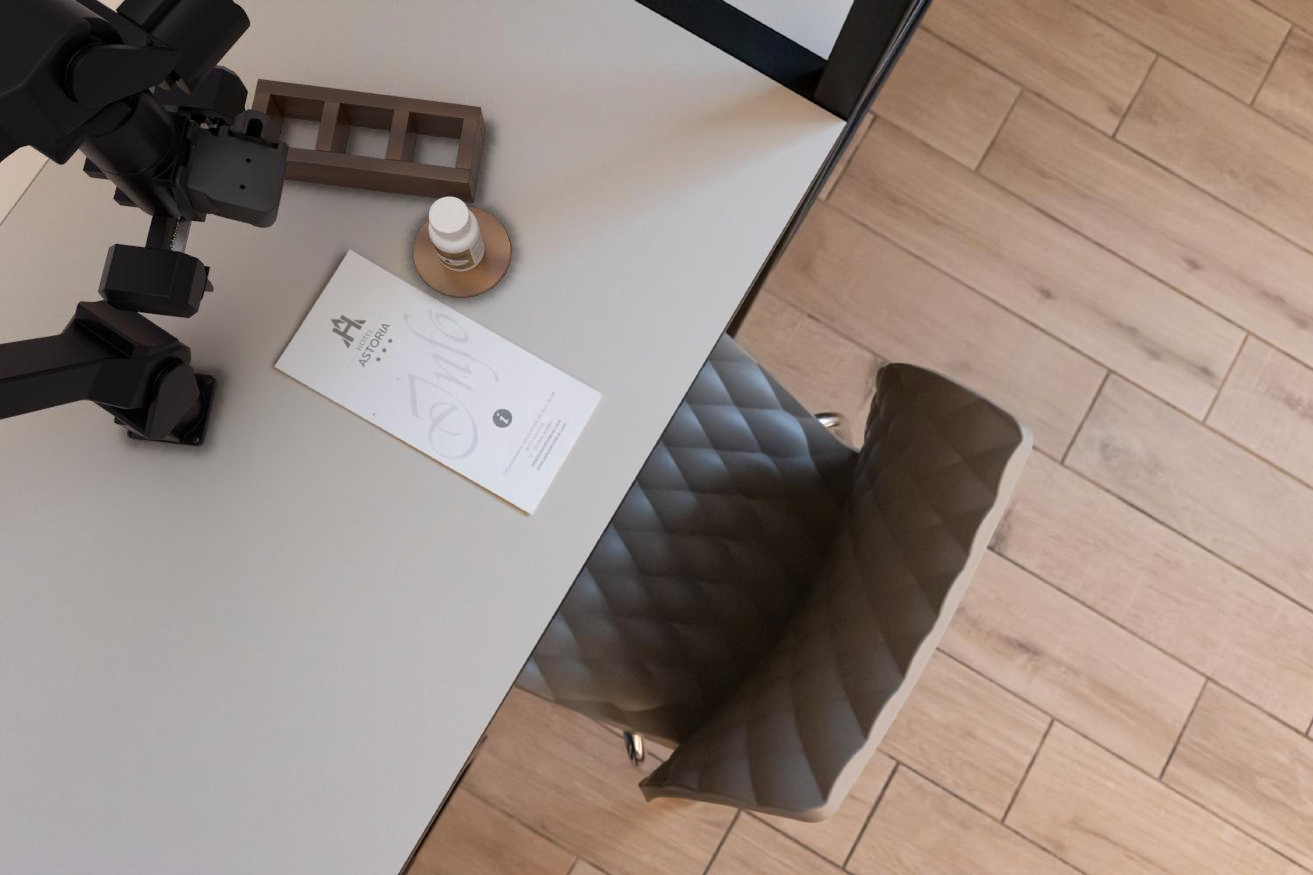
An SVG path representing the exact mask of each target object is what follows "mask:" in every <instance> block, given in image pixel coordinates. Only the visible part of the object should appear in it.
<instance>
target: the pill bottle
mask: <svg viewBox="0 0 1313 875" xmlns="http://www.w3.org/2000/svg"><path fill="white" fill-rule="evenodd" d="M467 207H468V206H467V204H466V202H465V201H461V200H460V199H458V198H455V197H443V198H437V200H435V201H434V203H432V204H431V206H430V207H429V211H428V219H429V220H430V222H429V235H430V238H431V241H432V243H433V246H434V248H435V251H436V253H437V255H438V258H439V260H440V261H441V263H442V264H443V265H444V266H445V267H447V268H448V269H451V270H453V271H459V272H463V271H467V270H470V269H472V268H474V267H476V266H477V265H478V264H479V263H480V261H481V260H482V258H483V255H484V243H483V239H482V236H481V232H480V229H479V225H478V222H477V219H476V217H475V216H474V214H473V213H472V212H471V211H470V210H468V208H467Z"/></svg>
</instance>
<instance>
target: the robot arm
mask: <svg viewBox="0 0 1313 875" xmlns="http://www.w3.org/2000/svg"><path fill="white" fill-rule="evenodd" d="M250 27H251V20H250V17H249V15H248V14H247V12H246V10H245V9H244V7H242V6H241V5H240V4H238V3H236V2H235V1H234V0H123V1H122V2H121V3H120V4H119V5H118V6H117V7H116V9H115V10H114V9H112V8H111V7H110V6H108V5H106V4H105V3H103V2H101V1H100V0H0V164H1V163H2V162H3V161H4V160H6V159H7V158H9V156H11V155H13V154H14V153H15V152H16V151H18V150H19V149H21V148H24V147H28V146H29V147H31V148H32V149H33V150H35V151H37V152H38V153H40V154H42V155H43V156H44V157H46V158H48V159H50V160H51V161H53V162H54V163H55V164H57V165H60V166H63V165H65V164H67V163H68V161H69V160H70V159H71V158H72V157H73V156H74V155H75V153H77V152H78V150H79V151H80V152H81V153H82V154H83V155H84V156H85V160H84V164H83V167H82V171H83V173H85V174H86V175H87V176H88V177H89V178H91V179H99V180H108V181H111V182H112V183H113V185H115V186H116V187H115V191H114V195H113V198H112V199H113V200H114V202H116V203H117V205H119V206H122V207H128V208H138V209H140V210H141V211H142V212H143V213H145V214H147V215H148V216H150V217H151V219H150V223H149V224H150V225H149V228H148V232H147V237H146V240H145V245H144V246H139V245H131V244H123V243H114V244H112V245H110V246H109V247H108V249H107V254H106V258H105V261H104V265H103V269H102V274H101V277H100V281H99V285H98V289H97V293H98V294H99V296H100V297H101V298H102V299H101V300H97V301H85V300H80V301H79V302H77V304H76V308H75V313H73V315H72V317H71V318H70V320H69V321H68V323H67V324H66V326H65V327H64V329H62V331H61V332H60V333H58V334H54V335H48V336H41V337H35V338H28V339H23V340H16V341H9V342H4V343H3V342H2V343H0V421H1V420H6V419H9V418H13V417H17V416H22V415H26V414H30V413H35V412H38V411H43V410H47V409H50V408H55V407H60V406H64V405H68V404H71V403H75V402H79V401H88V402H92V403H93V404H95V405H97V406H98V407H99V408H101V409H103V410H104V411H105V412H107V413H108V414H110V415H111V416H113V417H114V419H113V423H114V424H116V425H117V426H119V427H122V428H124V429H126V430H127V432H126V435H127V437H128V438H129V439H131V440H135V441H142V442H143V441H144V442H153V443H160V444H169V445H178V446H187V447H195V448H199V447H201V446H203V445H204V443H205V437H206V434H207V433H206V432H207V428H208V424H209V421H210V420H209V419H210V414H211V410H212V407H213V406H212V404H213V400H214V395H215V391H216V387H217V378H216V377H215V376H213V375H211V374H205V373H195V368H194V367H193V366H192V365H191V362H192V351H191V350H192V349H191V347H189V346H188V345H187V344H185V343H184V342H182V341H180V339H179V338H177V337H176V336H174V335H173V334H172V333H170V332H169V331H167V330H165V329H164V328H162V327H161V326H159V325H158V324H157V323H155V322H153V321H152V320H150V319H149V318H147V317H146V316H144V315H143V314H149V315H156V316H157V315H159V316H166V317H174V318H181V319H182V318H183V319H190V318H192V317H193V316H194V315H196V314H197V313H199V311H200V307H201V301H202V300H204V298H205V293H206V292H207V293H213V292H214V290H215V287H214V285H213V283H212V281H211V280H210V279H209V274H210V270H211V266H209V265H205V263H204V262H202V260H200V258H198V257H195V256H193V255H190V254H188V253H186V252H185V251H186V247H187V244H188V239H189V235H190V231H191V226H192V222H198V223H206V220H207V215H213V216H217V217H220V218H223V219H228V220H232V221H236V222H240V223H243V224H248V225H251V226H253V227H256V228H260V229H265V228H266V229H267V228H270V227H272V226H273V225H274V224H275V223H276V222H277V219H278V215H279V210H280V205H281V200H282V194H283V192H284V191H283V190H284V186H285V182H286V179H285V173H286V164H287V162H286V159H287V154H288V149H289V147H290V144H288V143H287V142H285V141H283V140H281V139H280V136H279V128H278V127H277V126H276V124H275V123H274V122H273V121H272V119H271V118H270V117H269V116H268V115H267V114H265V113H261V112H258V111H254V110H251V109H250V108H248V109H246V102H247V99H248V94H249V90H248V89H247V87H246V86H245V84H244V82H243V81H242V79H241V78H240V76H239V75H238V74H237V72H236V71H234V70H232V69H230V68H228V67H226V66H224V65H218V64H219V63H220V61H222V59H223V58H224V57H225V56H226V55H227V53H229V51H230V50H231V49H232V48H233V47H234V46H235V44H236V43H237V42H238V41H239V40H240V39H241V37H242V36H243V35H244V34H245V33H246V32H247V30H248V29H249V28H250ZM278 137H279V138H278ZM210 380H211V382H209V381H210ZM133 433H134V435H133ZM197 440H198V442H196V441H197Z"/></svg>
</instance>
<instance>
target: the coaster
mask: <svg viewBox="0 0 1313 875" xmlns="http://www.w3.org/2000/svg"><path fill="white" fill-rule="evenodd" d="M467 208H468V210H470V211H471V212H472V213H473V214H474V216H475V217H476V219H477V222H478V225H479V229H480V232H481V236H482V239H483V243H484V255H483V258H482V260H481V261H480V263H479V264H478V265H477V266H476V267H474V268H472V269H470V270H467V271H463V272H459V271H453V270H451V269H448V268H447V267H445V266H444V265H443V264H442V263H441V261H440V260H439V258H438V255H437V253H436V251H435V248H434V246H433V243H432V241H431V238H430V235H429V222H430V220H429V218H428V219H427V220H426V221H425V222H424V223H423V225H422V226H421V227H420V228H419V230H418V232H417V234H416V237H415V240H414V243H413V250H412V251H413V261H414V264H415V265H414V266H415V267H416V270H417V272H418V274H419V276H420V278H421V279H422V280H423V282H425V284H427V285H428V286H429V287H430V288H431V289H433V290H434V291H435V292H438V293H440V294H442V295H445V296H448V297H453V298H470V297H475V296H478V295H481V294H483V293H486V292H488V291H489V290H491V289H492V288H494V287H495V286H496V285H497V284H499V282H500V281H501V280H502V279H503V277H504V276H505V274H506V272H507V270H508V268H509V266H510V262H511V257H512V249H511V247H512V246H511V242H510V238H509V235H508V233H507V231H506V229H505V228H504V225H502V223H501V222H500V221H499V220H498V219H497V218H496V217H495V216H493V215H492V214H491V213H489V212H487V211H485V210H483V209H480V208H477V207H472V206H467Z"/></svg>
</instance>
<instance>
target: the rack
mask: <svg viewBox="0 0 1313 875" xmlns="http://www.w3.org/2000/svg"><path fill="white" fill-rule="evenodd" d="M251 110H254V111H258V112H261V113H265V114H267V115H268V116H269V117H270V118H271V119H272V121H273V122H274V123H275V124H276V126H277V127H278V128H279V137H278V138H279V139H280V136H281V131H282V126H283V122H284V118H288V119H289V118H290V119H296V120H297V119H298V120H305V121H311V122H312V121H313V122H320V124H319V127H318V133H317V137H316V142H315V146H314V147H315V148H314V149H308V148H300V147H292V146H289V149H288V154H287V159H286V162H287V164H286V173H285V180H288V181H296V182H304V183H312V184H319V185H328V186H336V187H344V188H354V189H360V190H370V191H375V192H376V191H377V192H384V193H392V194H402V195H409V196H417V197H425V198H433V199H440V198H443V197H455V198H458V199H460V200H461V201H463V202H464V203H474V202H475V198H476V189H477V185H478V181H479V180H478V179H479V174H480V167H481V160H482V156H483V155H482V154H483V148H484V141H485V137H486V136H485V135H486V130H487V129H486V125H485V124H486V123H485V120H484V115H483V110H482V107H481V106H476V105H468V104H463V103H453V102H444V101H438V100H437V101H436V100H429V99H422V98H414V97H406V96H399V95H390V94H382V93H375V92H367V91H357V90H352V89H351V90H350V89H343V88H335V87H328V86H327V87H326V86H318V85H311V84H303V83H295V82H288V81H280V80H272V79H271V80H270V79H264V78H258V79H257V82H256V87H255V92H254V96H253V99H252V105H251ZM351 126H353V127H361V128H369V129H377V130H383V131H384V130H385V131H389V137H388V142H387V148H386V152H385V158H379V157H372V156H364V155H356V154H347V153H346V150H347V146H348V140H349V136H350V132H351V131H350V130H351ZM418 135H423V136H433V137H439V138H440V137H441V138H447V139H456V140H459V145H458V150H457V156H456V162H455V167H452V166H444V165H437V164H436V165H435V164H428V163H421V162H413V161H414V154H415V150H416V149H415V148H416V143H417V137H418Z"/></svg>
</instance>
